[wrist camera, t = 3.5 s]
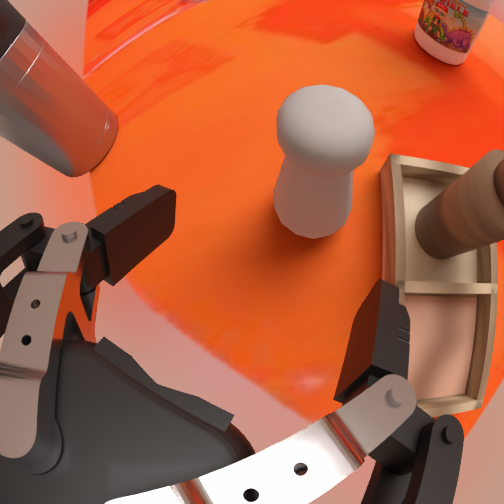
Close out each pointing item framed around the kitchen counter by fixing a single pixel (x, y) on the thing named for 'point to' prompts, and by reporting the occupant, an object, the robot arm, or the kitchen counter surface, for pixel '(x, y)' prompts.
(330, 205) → the salt shaker
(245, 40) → the kitchen counter surface
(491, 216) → the pepper mill
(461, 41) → the milk bottle
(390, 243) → the spice rack
